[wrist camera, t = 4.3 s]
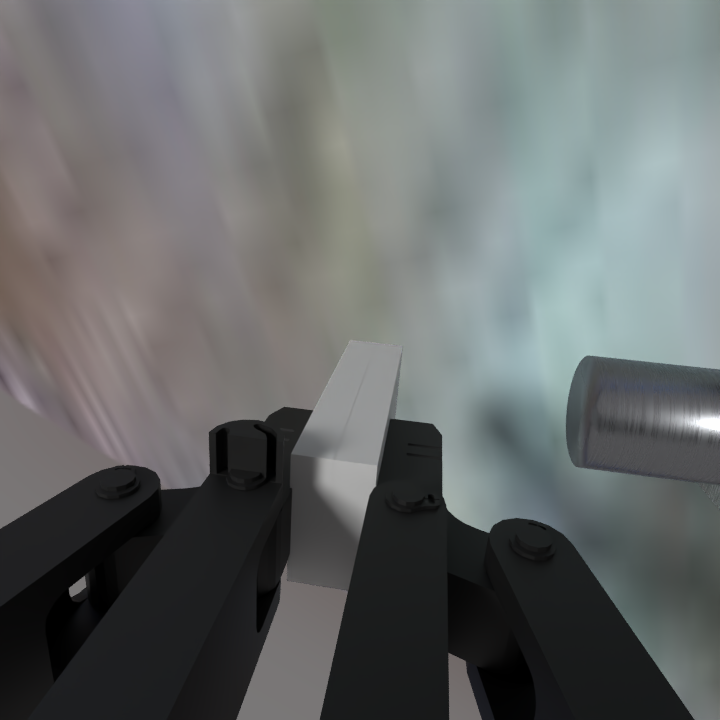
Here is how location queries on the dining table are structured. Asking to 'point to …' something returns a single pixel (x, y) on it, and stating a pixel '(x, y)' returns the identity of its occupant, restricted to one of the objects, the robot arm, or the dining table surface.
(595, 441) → the axle
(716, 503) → the grey box
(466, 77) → the dining table surface
